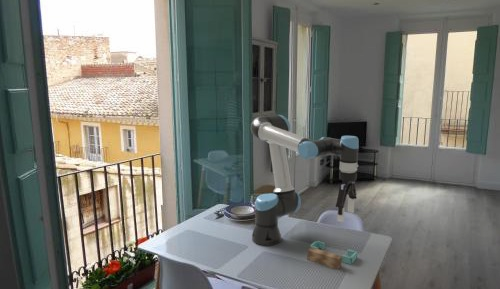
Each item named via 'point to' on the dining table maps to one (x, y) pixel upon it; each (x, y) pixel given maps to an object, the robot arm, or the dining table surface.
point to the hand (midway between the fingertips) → (345, 216)
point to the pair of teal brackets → (345, 259)
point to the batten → (324, 258)
